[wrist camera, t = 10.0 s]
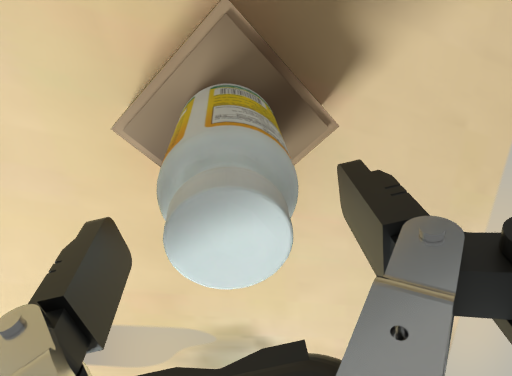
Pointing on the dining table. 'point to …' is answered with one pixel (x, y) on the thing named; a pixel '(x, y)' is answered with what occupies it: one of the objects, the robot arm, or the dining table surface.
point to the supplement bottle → (227, 190)
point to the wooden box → (224, 72)
